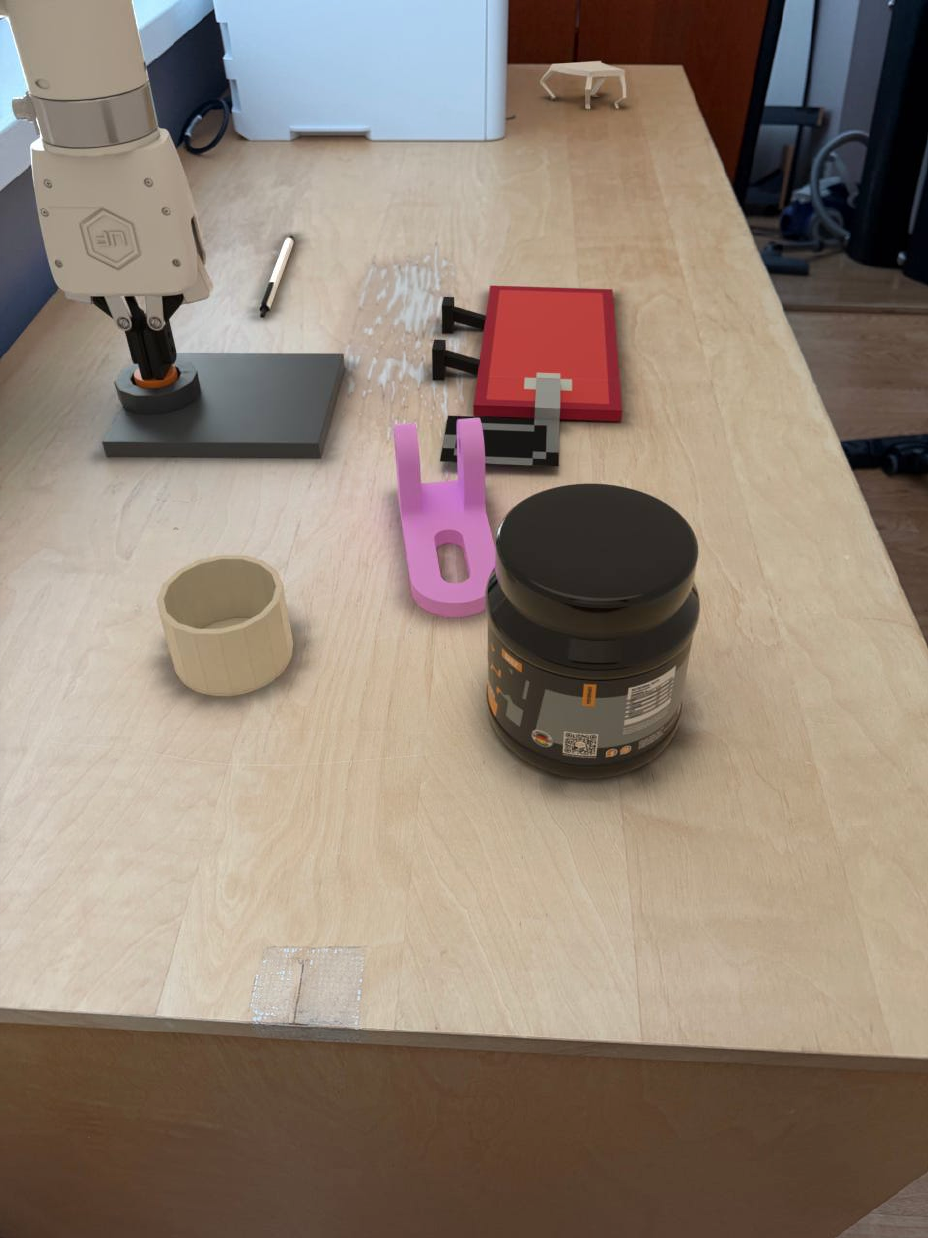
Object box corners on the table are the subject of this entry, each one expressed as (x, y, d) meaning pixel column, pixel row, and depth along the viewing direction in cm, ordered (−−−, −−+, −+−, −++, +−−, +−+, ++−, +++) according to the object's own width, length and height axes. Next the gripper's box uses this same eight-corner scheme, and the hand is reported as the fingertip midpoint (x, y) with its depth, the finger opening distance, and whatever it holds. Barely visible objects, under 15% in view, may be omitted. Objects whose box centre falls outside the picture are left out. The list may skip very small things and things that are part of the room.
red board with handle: (413, 471, 74) (624, 480, 74) (412, 437, 73) (628, 445, 72) (449, 298, 97) (611, 303, 96) (449, 269, 95) (613, 274, 94)
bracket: (398, 502, 72) (392, 413, 68) (478, 495, 73) (477, 406, 68) (415, 624, 62) (409, 531, 58) (507, 615, 63) (508, 522, 58)
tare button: (133, 402, 80) (128, 381, 79) (145, 381, 82) (140, 361, 81) (174, 402, 80) (170, 381, 79) (185, 382, 82) (180, 361, 81)
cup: (162, 698, 58) (142, 632, 55) (191, 618, 63) (174, 553, 60) (282, 700, 58) (269, 634, 55) (302, 620, 63) (291, 555, 60)
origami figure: (625, 96, 146) (628, 57, 143) (625, 113, 140) (628, 73, 137) (540, 94, 147) (541, 56, 144) (536, 112, 141) (537, 72, 138)
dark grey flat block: (99, 460, 77) (88, 422, 75) (150, 369, 88) (141, 334, 85) (321, 461, 76) (316, 423, 74) (345, 370, 87) (341, 334, 85)
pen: (257, 320, 94) (256, 308, 94) (288, 239, 109) (286, 228, 108) (267, 320, 94) (266, 308, 94) (296, 239, 109) (295, 228, 108)
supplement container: (522, 631, 62) (526, 459, 54) (698, 674, 59) (729, 498, 51) (456, 756, 55) (450, 578, 47) (653, 813, 52) (683, 633, 44)
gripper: (-39, 135, 65) (46, 395, 77) (196, 131, 65) (244, 395, 77) (6, 100, 71) (78, 349, 83) (222, 97, 70) (263, 348, 82)
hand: (158, 370), depth 80 cm, fingers closed
